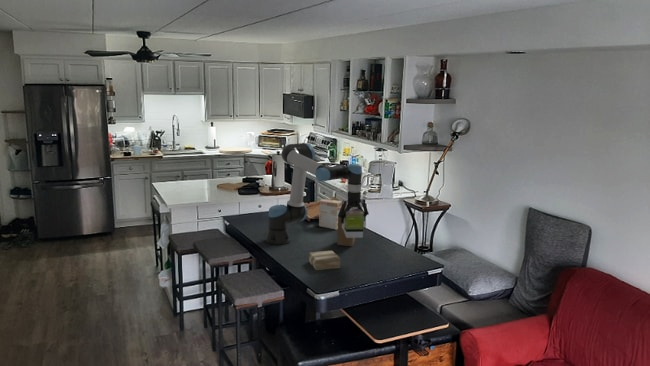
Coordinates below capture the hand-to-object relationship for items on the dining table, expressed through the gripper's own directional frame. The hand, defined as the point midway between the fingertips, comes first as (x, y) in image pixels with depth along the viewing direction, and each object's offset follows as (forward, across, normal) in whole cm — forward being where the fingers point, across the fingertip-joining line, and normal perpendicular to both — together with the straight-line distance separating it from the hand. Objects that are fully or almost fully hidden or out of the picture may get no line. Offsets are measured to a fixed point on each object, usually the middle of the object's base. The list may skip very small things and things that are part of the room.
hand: (352, 227), depth 291 cm
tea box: (+4, 0, 0) cm, 4 cm away
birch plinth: (+20, -18, 0) cm, 27 cm away
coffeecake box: (+21, +19, +68) cm, 73 cm away
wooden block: (+20, +12, +30) cm, 38 cm away
